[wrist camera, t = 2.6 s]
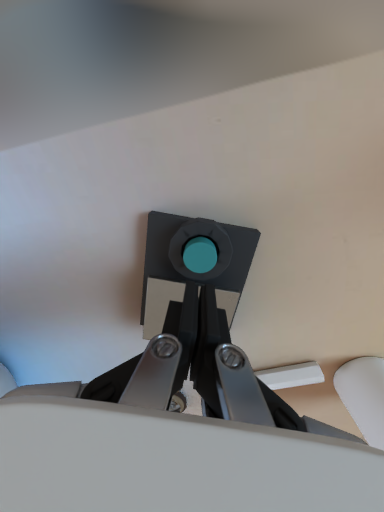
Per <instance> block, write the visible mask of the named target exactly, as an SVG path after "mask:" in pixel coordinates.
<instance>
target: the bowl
mask: <svg viewBox="0 0 384 512" xmlns="http://www.w3.org/2000/svg"><path fill="white" fill-rule="evenodd" d="M15 388H17V384H16V382H15V380H14V378H13V376H12V375H11V373H10V372H9V370H8V369H7V368H6V367H5V366H4V365H3V364H2V363H1V362H0V398H1V397H2V396H3V395H5V394H6V393H7V392H9V391H11V390H13V389H15Z"/></svg>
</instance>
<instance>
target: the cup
mask: <svg viewBox="0 0 384 512" xmlns="http://www.w3.org/2000/svg"><path fill="white" fill-rule="evenodd" d="M333 382H334V387H335V389H336V391H337V393H338V395H339V397H340V398H341V400H342V401H343V403H344V405H345V406H346V408H347V410H348V411H349V413H350V415H351V416H352V418H353V419H354V421H355V423H356V424H357V426H358V428H359V429H360V431H361V433H362V434H363V436H364V437H365V439H366V441H367V442H368V444H369V446H371V447H374V448H378V449H380V450H383V451H384V359H382V358H379V357H361V358H357V359H354V360H351V361H349V362H347V363H345V364H344V365H342V366H341V367H340V368H339V369H338V370H337V371H336V373H335V375H334V379H333Z"/></svg>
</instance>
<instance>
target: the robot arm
mask: <svg viewBox="0 0 384 512" xmlns="http://www.w3.org/2000/svg"><path fill="white" fill-rule="evenodd" d="M198 290H199V285H196V284H195V282H193V281H187V280H186V286H185V291H184V297H183V302H179V301H172V300H170V301H169V305H168V309H167V313H166V317H165V321H164V325H163V329H162V333H161V334H158V335H156V336H154V337H153V338H152V339H151V340H150V341H149V343H148V345H147V347H146V349H145V351H144V352H143V353H141V354H139V355H137V356H135V357H134V358H132V359H130V360H128V361H126V362H124V363H122V364H121V365H119V366H117V367H115V368H113V369H111V370H110V371H108V372H106V373H104V374H102V375H100V376H99V377H97V378H95V379H94V380H92V381H91V382H89V383H86V384H82V383H81V381H74V382H61V383H48V384H35V385H25V386H21V387H17V388H15V389H13V390H11V391H9V392H7V393H6V394H5V395H3V396H2V397H1V398H0V512H384V451H383V450H380V449H378V448H374V447H371V446H369V445H368V444H367V443H365V442H364V441H363V440H362V439H360V438H358V437H357V436H355V435H352V434H350V433H347V432H345V431H342V430H340V429H337V428H335V427H332V426H330V425H327V424H325V423H322V422H320V421H317V420H315V419H312V418H310V417H307V416H305V415H303V417H299V416H298V414H297V413H296V412H295V411H294V410H293V409H292V408H291V407H290V406H289V405H288V404H287V403H286V402H285V401H283V400H282V399H281V398H280V397H279V396H278V395H277V394H276V393H275V392H273V391H272V390H271V389H270V388H269V387H268V386H267V385H266V384H264V383H263V382H262V381H261V380H260V379H259V378H258V377H257V376H256V375H255V374H254V372H253V369H252V367H251V365H250V362H249V360H248V357H247V356H246V354H245V352H244V351H243V350H242V349H241V348H239V347H238V346H236V345H233V344H232V343H231V338H230V332H229V327H228V321H227V315H226V311H225V309H221V308H217V302H216V294H215V286H214V285H211V284H205V285H204V286H202V285H201V288H200V293H199V298H198ZM190 363H191V365H190ZM189 367H190V381H194V383H193V389H196V391H197V392H198V393H199V394H200V396H201V397H202V398H201V406H202V414H203V416H198V415H191V414H185V413H178V412H171V411H169V409H170V406H171V402H172V398H173V395H174V394H175V393H177V392H178V391H179V390H180V389H182V386H183V382H184V380H187V376H188V371H189Z"/></svg>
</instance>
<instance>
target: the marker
mask: <svg viewBox="0 0 384 512" xmlns="http://www.w3.org/2000/svg"><path fill="white" fill-rule="evenodd" d="M254 374H255V375H256V376H257V377H258V378H259V379H260V380H261V381H262V382H263V383H264V384H266V385H267V386H268V387H269V388H270V389H271V390H276V389H282V388H288V387H295V386H301V385H308V384H314V383H321V382H325V381H324V375H323V373H322V371H321V368H320V366H319V365H318V364H317V363H316V361H313V362H307V363H302V364H296V365H290V366H284V367H279V368H273V369H267V370H261V371H256V372H254Z"/></svg>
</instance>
